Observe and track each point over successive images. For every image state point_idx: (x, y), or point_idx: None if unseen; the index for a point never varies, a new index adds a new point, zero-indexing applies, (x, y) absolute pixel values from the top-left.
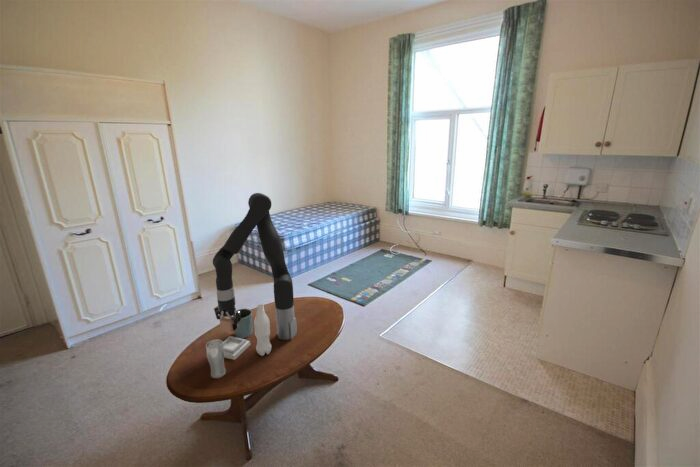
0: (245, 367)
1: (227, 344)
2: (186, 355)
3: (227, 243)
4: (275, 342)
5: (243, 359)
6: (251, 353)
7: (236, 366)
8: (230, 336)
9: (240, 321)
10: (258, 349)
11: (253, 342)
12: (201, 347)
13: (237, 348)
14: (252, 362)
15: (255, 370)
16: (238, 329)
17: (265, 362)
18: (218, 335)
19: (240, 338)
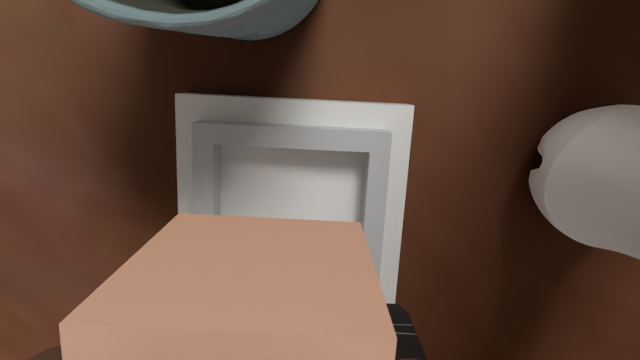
0: (507, 347)
1: (237, 206)
2: (5, 350)
3: None
4: (624, 6)
5: (449, 281)
6: (475, 205)
7: (439, 354)
8: (202, 129)
9: (258, 14)
10: (597, 246)
11: (416, 65)
12: (29, 246)
13: (379, 259)
14: (533, 292)
15: (592, 354)
16: (234, 34)
17: (632, 268)
18: (27, 57)
19: (325, 131)
